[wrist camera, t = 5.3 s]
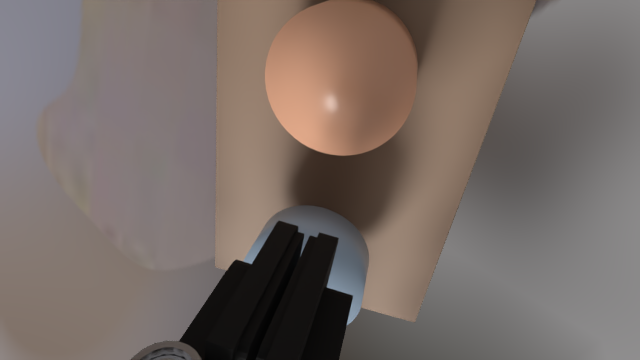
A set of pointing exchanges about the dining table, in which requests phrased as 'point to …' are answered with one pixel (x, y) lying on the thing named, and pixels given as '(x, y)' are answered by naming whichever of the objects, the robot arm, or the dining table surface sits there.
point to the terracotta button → (342, 76)
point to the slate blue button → (349, 253)
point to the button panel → (372, 166)
